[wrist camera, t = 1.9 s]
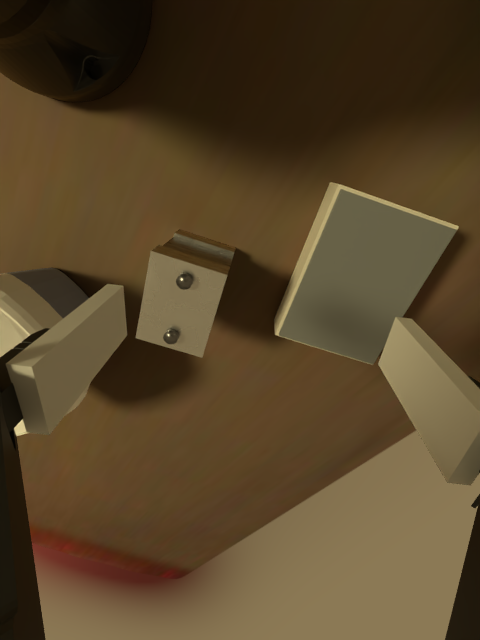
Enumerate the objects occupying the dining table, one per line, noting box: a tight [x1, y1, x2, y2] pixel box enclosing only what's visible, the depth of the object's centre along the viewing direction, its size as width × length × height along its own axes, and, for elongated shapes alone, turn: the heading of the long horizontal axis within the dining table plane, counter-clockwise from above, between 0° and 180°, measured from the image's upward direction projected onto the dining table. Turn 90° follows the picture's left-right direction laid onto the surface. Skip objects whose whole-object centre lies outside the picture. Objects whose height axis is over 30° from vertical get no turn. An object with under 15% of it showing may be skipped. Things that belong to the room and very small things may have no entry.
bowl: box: [0, 268, 91, 436], centre depth 32 cm, size 15×15×11 cm
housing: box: [136, 229, 236, 358], centre depth 29 cm, size 6×8×10 cm
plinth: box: [274, 182, 459, 365], centre depth 30 cm, size 11×15×4 cm
